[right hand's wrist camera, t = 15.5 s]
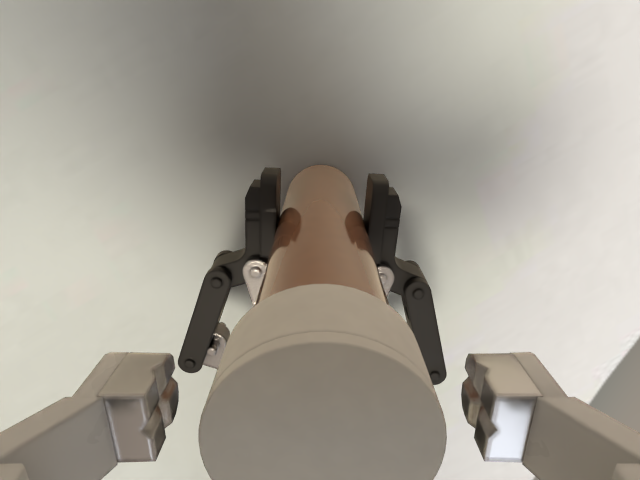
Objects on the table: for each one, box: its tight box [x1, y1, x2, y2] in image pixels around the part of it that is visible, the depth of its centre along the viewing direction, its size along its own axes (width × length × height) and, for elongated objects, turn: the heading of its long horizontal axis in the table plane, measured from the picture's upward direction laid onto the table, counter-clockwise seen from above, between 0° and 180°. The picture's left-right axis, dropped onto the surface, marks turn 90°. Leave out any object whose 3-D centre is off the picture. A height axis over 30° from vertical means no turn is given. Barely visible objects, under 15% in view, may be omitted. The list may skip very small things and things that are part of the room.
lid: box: [199, 284, 447, 480], centre depth 10 cm, size 5×5×2 cm
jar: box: [255, 165, 389, 305], centre depth 17 cm, size 4×4×18 cm
